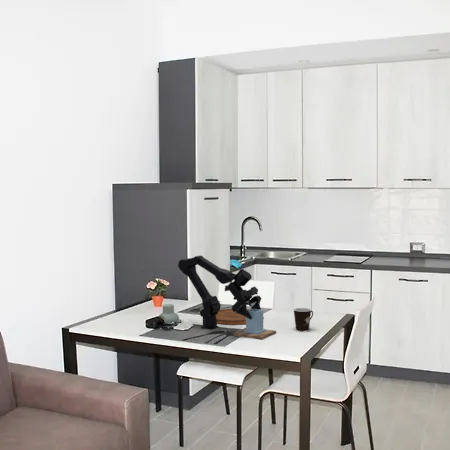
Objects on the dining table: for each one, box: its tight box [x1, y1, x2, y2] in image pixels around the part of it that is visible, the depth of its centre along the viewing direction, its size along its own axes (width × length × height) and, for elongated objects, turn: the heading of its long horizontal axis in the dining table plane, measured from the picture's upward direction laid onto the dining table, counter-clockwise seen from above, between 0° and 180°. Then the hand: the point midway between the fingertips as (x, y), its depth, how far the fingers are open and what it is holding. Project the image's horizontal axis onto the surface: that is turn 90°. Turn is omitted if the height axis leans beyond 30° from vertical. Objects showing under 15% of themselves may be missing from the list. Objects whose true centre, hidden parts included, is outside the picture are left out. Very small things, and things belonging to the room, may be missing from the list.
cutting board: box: [216, 308, 264, 326], centre depth 332 cm, size 32×32×3 cm
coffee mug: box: [293, 307, 314, 332], centre depth 305 cm, size 12×9×10 cm
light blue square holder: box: [244, 308, 267, 335], centre depth 296 cm, size 8×8×10 cm
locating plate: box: [232, 327, 277, 341], centre depth 297 cm, size 16×14×4 cm
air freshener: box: [158, 303, 180, 323], centre depth 321 cm, size 11×8×10 cm
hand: (257, 317), depth 295 cm, fingers open, 9 cm apart
